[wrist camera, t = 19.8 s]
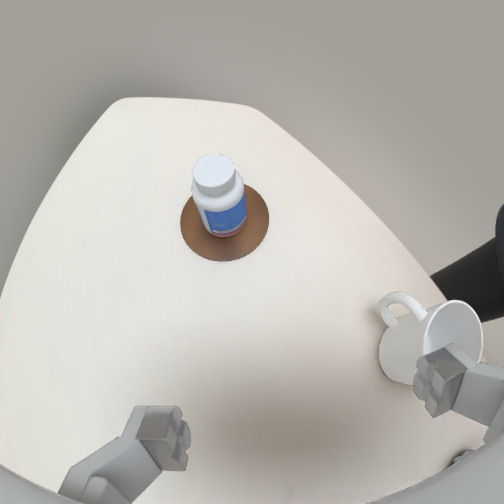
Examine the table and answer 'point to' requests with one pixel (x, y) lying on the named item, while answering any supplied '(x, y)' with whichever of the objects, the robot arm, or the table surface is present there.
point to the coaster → (231, 245)
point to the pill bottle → (219, 195)
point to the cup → (425, 333)
